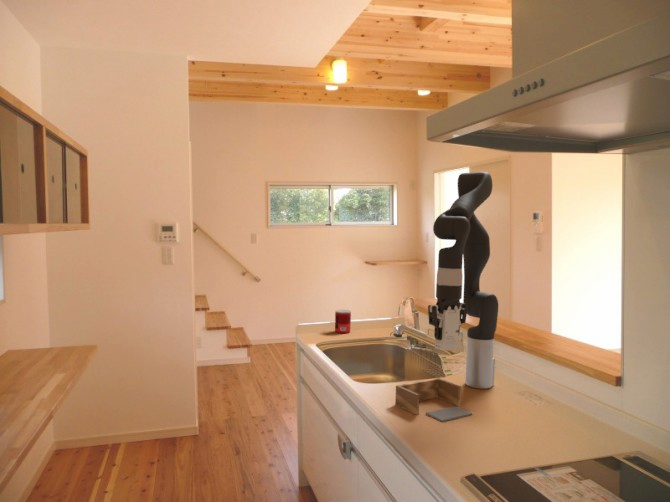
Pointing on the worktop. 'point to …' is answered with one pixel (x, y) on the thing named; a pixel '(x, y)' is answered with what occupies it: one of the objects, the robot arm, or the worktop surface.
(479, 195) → the robot arm
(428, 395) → the brown wooden u-shaped piece
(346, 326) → the canned food
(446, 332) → the skincare box
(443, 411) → the grey mat
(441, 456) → the worktop surface
